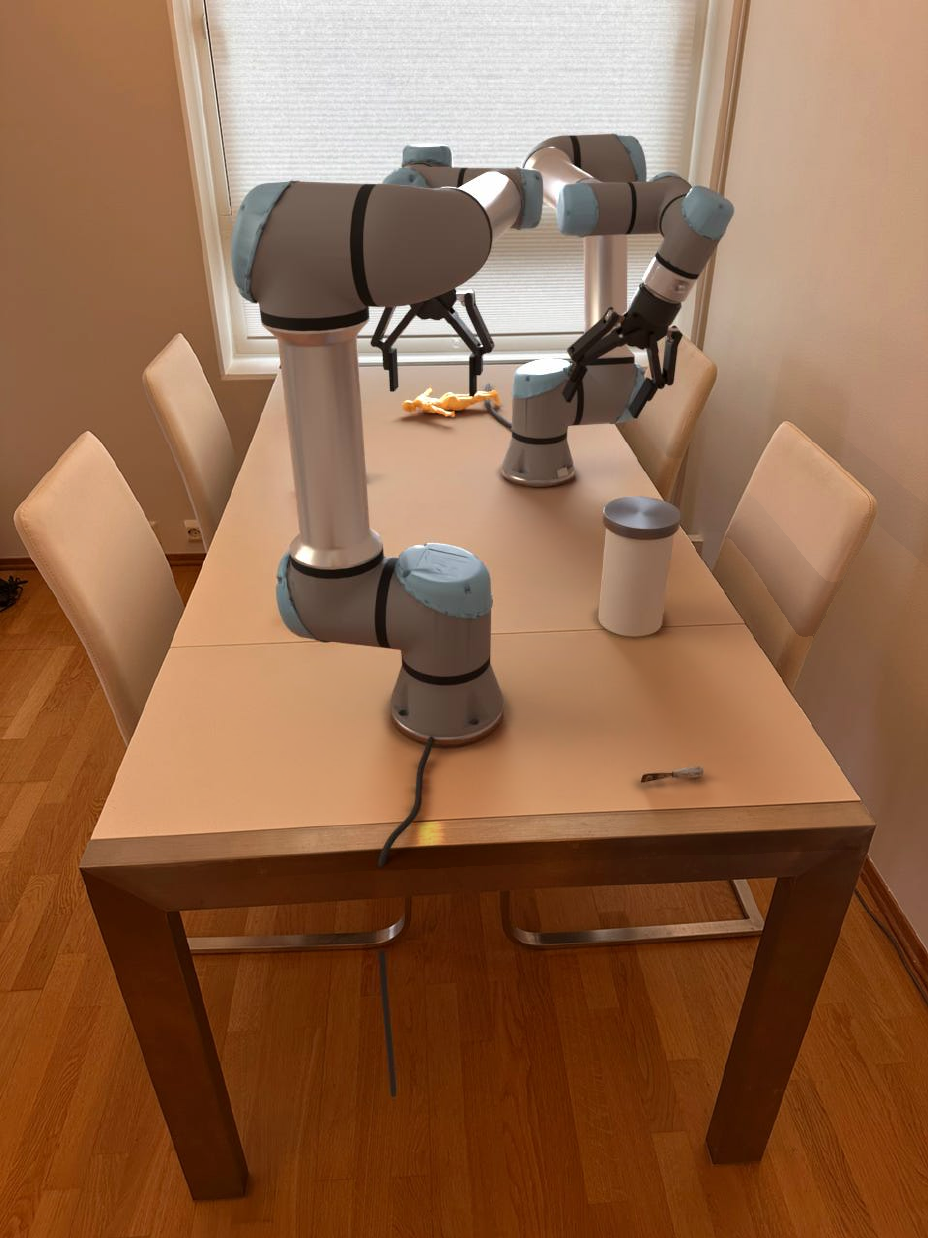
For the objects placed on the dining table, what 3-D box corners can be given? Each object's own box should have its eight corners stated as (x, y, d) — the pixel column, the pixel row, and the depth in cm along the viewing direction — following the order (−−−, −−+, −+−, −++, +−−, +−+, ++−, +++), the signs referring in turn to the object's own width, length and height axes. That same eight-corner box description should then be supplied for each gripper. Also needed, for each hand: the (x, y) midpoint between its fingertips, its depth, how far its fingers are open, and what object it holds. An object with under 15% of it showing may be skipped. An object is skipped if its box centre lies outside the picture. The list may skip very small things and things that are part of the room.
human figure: (395, 413, 223) (394, 398, 221) (438, 390, 237) (438, 375, 235) (462, 429, 215) (462, 413, 213) (502, 404, 229) (503, 388, 227)
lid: (690, 517, 133) (692, 506, 132) (662, 546, 125) (663, 535, 124) (621, 500, 139) (622, 490, 138) (589, 528, 131) (590, 517, 130)
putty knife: (703, 777, 109) (705, 767, 109) (642, 788, 108) (644, 777, 107) (700, 772, 110) (702, 762, 109) (639, 782, 109) (640, 771, 108)
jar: (671, 614, 142) (686, 510, 133) (647, 643, 135) (660, 535, 125) (614, 597, 147) (624, 495, 137) (587, 624, 140) (596, 519, 130)
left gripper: (513, 255, 139) (510, 389, 150) (360, 249, 144) (368, 380, 155) (505, 264, 133) (502, 403, 144) (345, 258, 137) (355, 393, 149)
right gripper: (603, 283, 132) (543, 403, 145) (734, 323, 142) (666, 432, 156) (587, 260, 137) (530, 378, 150) (714, 300, 147) (651, 408, 161)
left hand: (433, 391), depth 149 cm, fingers open, 13 cm apart
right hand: (599, 406), depth 153 cm, fingers open, 13 cm apart
